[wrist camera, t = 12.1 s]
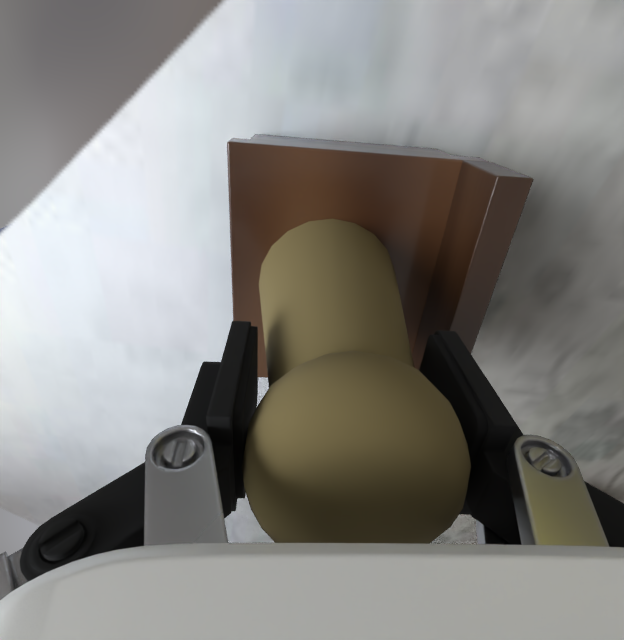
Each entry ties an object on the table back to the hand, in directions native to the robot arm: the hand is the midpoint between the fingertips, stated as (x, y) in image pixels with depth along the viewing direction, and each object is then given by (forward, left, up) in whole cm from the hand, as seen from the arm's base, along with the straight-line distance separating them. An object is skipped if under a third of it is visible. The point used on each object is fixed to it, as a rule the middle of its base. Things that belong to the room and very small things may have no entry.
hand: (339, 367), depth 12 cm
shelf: (+1, 0, -11) cm, 11 cm away
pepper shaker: (0, 0, -6) cm, 6 cm away
